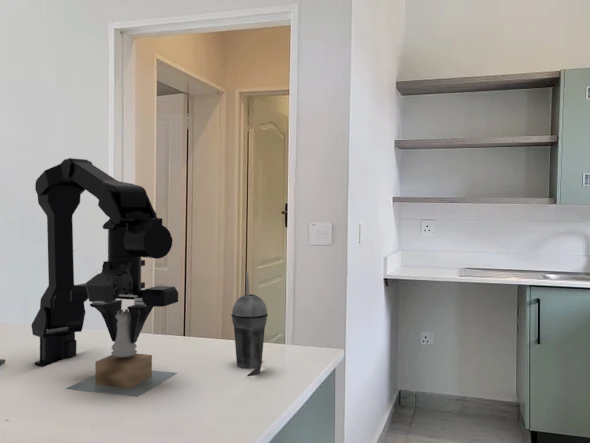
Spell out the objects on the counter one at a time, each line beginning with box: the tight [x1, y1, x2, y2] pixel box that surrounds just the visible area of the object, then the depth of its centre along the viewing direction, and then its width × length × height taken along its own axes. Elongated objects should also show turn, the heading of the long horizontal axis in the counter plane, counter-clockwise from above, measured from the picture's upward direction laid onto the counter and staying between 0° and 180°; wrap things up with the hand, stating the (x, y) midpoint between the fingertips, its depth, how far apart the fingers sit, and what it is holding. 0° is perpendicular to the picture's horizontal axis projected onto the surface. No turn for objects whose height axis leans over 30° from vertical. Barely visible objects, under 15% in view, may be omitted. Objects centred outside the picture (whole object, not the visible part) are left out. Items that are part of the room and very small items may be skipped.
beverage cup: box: [231, 272, 268, 377], centre depth 109 cm, size 7×7×20 cm
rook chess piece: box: [111, 308, 138, 358], centre depth 98 cm, size 4×4×8 cm
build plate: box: [64, 370, 178, 398], centre depth 98 cm, size 14×14×2 cm
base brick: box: [94, 353, 153, 388], centre depth 98 cm, size 7×7×4 cm
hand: (124, 341), depth 98 cm, fingers open, 3 cm apart
